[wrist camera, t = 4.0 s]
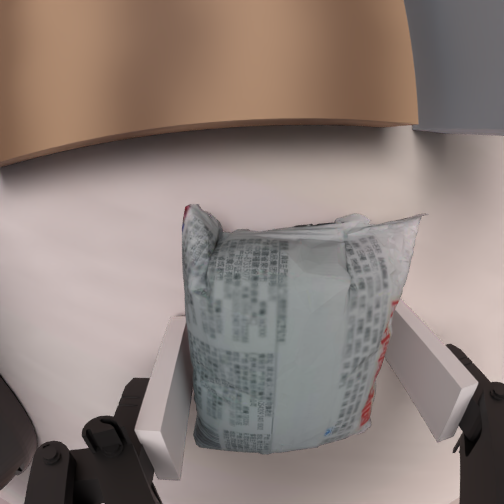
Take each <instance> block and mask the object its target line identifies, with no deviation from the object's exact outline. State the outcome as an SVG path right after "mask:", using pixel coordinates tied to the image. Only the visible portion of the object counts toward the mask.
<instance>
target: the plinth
mask: <svg viewBox="0 0 504 504" xmlns="http://www.w3.org/2000/svg"><path fill="white" fill-rule="evenodd" d="M418 124H419V123H418V104H417V91H416V80H415V70H414V61H413V53H412V46H411V39H410V33H409V27H408V21H407V16H406V10H405V5H404V0H0V167H4V166H7V165H11V164H14V163H18V162H21V161H25V160H29V159H33V158H37V157H41V156H45V155H49V154H53V153H57V152H62V151H66V150H71V149H75V148H80V147H85V146H90V145H95V144H101V143H106V142H112V141H118V140H124V139H130V138H136V137H143V136H150V135H158V134H166V133H174V132H183V131H193V130H203V129H215V128H228V127H245V126H267V125H347V126H369V127H392V126H404V125H418Z"/></svg>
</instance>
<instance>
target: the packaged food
mask: <svg viewBox="0 0 504 504" xmlns="http://www.w3.org/2000/svg"><path fill="white" fill-rule="evenodd" d="M209 215H210V216H211V217H210V216H209ZM424 215H428V214H426V213H424V214H418V215H415V216H412V217H408V218H405V219H401V220H397V221H390V222H386V223H382V224H378V225H374V224H369V223H370V221H371V220H369V219H368V218H367V217H365V216H364V215H362V214H352V215H348V216H345V217H341V218H338V219H336V220H335V223H324V224H317V225H312V224H309V225H298V226H294V227H289V228H281V229H274V230H268V231H262V232H257V231H250V230H248V229H241V230H236V231H234V232H232V233H228V232H223V229H222V227H221V225H220V222H219V221H218V220H216V219H215V218H214V217H213V216H212V215H211V214H210V213H208V212H206V211H203V210H202V209H201V207H200V206H199V204H196V205H194V204H190V205H188V206H186V207H185V211H184V217H183V226H182V263H183V279H184V290H185V316H186V324H187V331H188V339H189V349H190V357H191V363H192V366H193V389H194V394H195V395H194V399H195V402H196V410H197V418H196V424H195V429H194V434H193V435H194V439H195V442H196V445H198V446H199V447H202V448H209V449H217V450H225V451H236V452H255V453H260V454H271V453H279V452H287V451H293V450H301V449H308V448H315V447H318V446H320V445H323V444H327V443H331V442H334V441H338V440H342V439H345V438H347V437H349V436H351V435H354V434H361V433H363V432H364V431H365V430H366V429H367V428H370V426H371V420H370V414H371V408H372V404H373V401H374V397H375V392H376V378H377V375H378V373H379V371H380V368H381V366H382V363H383V360H384V356H385V353H386V350H387V347H388V344H389V340H390V338H391V335H392V326H391V323H392V315H393V313H394V310H395V308H396V306H397V304H398V302H399V300H400V297H401V295H402V290H403V287H404V285H405V282H406V279H407V275H408V272H409V267H410V263H411V259H412V255H413V252H414V251H413V248H414V246H415V238H416V235H417V233H418V226H419V223H420V220H421V217H422V216H424Z"/></svg>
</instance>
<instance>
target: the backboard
mask: <svg viewBox="0 0 504 504" xmlns="http://www.w3.org/2000/svg"><path fill="white" fill-rule="evenodd" d="M404 5H405V10H406V16H407V21H408V27H409V33H410V39H411V46H412V53H413V61H414V70H415V80H416V91H417V104H418V123H419V124H418V125H412V126H413V130H420V131H429V132H437V133H445V134H478V135H499V136H504V0H404Z"/></svg>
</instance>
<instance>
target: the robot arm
mask: <svg viewBox="0 0 504 504" xmlns="http://www.w3.org/2000/svg"><path fill="white" fill-rule="evenodd" d="M391 326H392V335H391V338H390V340H389V344H388V347H387V350H386V353H385V356H384V357H385V358H386V360H387V361H388V363H389V364H390V366H391V367H392V369H393V371H394V372H395V374H396V375H397V377H398V379H399V380H400V382H401V383H402V385H403V386H404V388H405V390H406V391H407V393H408V395H409V396H410V398H411V399H412V401H413V403H414V404H415V406H416V408H417V409H418V411H419V412H420V414H421V416H422V417H423V419H424V421H425V422H426V424H427V426H428V428H429V429H430V431H431V433H432V434H433V436H434V438H435V439H436V441H437V442H439V441H442V440H445V439H448V438H450V437H453V436H454V434H455V432H456V430H457V428H458V426H459V427H460V428H461V430H462V431H463V432H462V434H461V436H460V438H459V440H458V441H457V443H456V445H455V447H454V449H453V453H455V452H456V451H457V449H458V447H459V445H460V451H459V453H460V504H504V384H503V383H500V382H490V381H489V380H488V379H487V378H486V377H485V375H484V374H483V373H482V372H481V371H480V370H479V369H478V368H477V367H476V366H475V364H474V363H473V364H472V361H471V360H470V359H469V358H467V356H466V355H465V354H464V353H463V352H462V350H461V349H459V348H457V347H456V346H454V345H452V344H447V345H445V344H444V343H443V342H442V341H441V340H440V339H439V338H438V337H437V336H436V335H435V333H434V332H433V331H432V330H431V329H430V328H429V327H428V326H427V325H426V324H425V323H424V322H423V321H422V320H421V319H420V318H419V317H418V316H417V314H416V313H415V312H414V311H413V310H412V309H411V308H410V307H409V306H408V305H407V304H406V303H405V302H404V301H403V300H402V299H401V298H400V300H399V302H398V304H397V306H396V308H395V310H394V313H393V315H392V323H391ZM192 389H193V366H192V363H191V357H190V349H189V339H188V331H187V324H186V316H177V317H170V320H169V323H168V326H167V329H166V332H165V335H164V337H163V340H162V343H161V346H160V349H159V352H158V355H157V358H156V361H155V365H154V368H153V371H152V374H151V377H150V378H133V379H132V380H131V381H130V382H129V383H128V384H127V385H126V386H125V389H124V391H123V394H122V398H121V399H120V402H119V406H118V407H117V409H116V412H115V415H114V417H112V416H99V417H96V418H94V419H92V420H90V421H89V422H88V423H87V424H86V425H85V426H84V428H83V430H82V437H83V439H84V441H85V442H86V444H87V446H88V447H89V448H87V449H78V450H69V449H68V448H67V446H66V445H64V444H63V443H61V442H58V441H50V442H46V443H44V444H42V445H41V446H40V447H39V448H38V449H37V438H36V434H35V431H34V428H33V426H32V424H31V422H30V420H29V418H28V416H27V414H26V412H25V411H24V409H23V408H22V406H21V404H20V403H19V401H18V400H17V399H16V397H15V396H14V394H13V393H12V391H11V390H10V389H9V387H8V386H7V385H6V383H5V382H4V381H3V380H2V378H1V377H0V490H1V489H2V488H4V487H5V486H6V485H7V484H8V483H9V482H10V481H11V480H12V478H13V477H14V476H15V475H19V474H21V473H22V472H24V471H25V470H26V468H27V467H28V466H29V464H30V462H31V460H32V458H33V456H34V458H33V462H32V466H31V471H30V476H29V481H28V486H27V491H26V497H25V503H24V504H101V503H105V504H162V501H161V499H160V497H159V495H158V493H157V490H156V488H155V486H154V484H153V482H152V480H153V475H154V472H155V474H156V476H157V478H158V479H163V480H180V479H181V471H182V463H183V455H184V447H185V439H186V432H187V424H188V417H189V410H190V403H191V396H192Z"/></svg>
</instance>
